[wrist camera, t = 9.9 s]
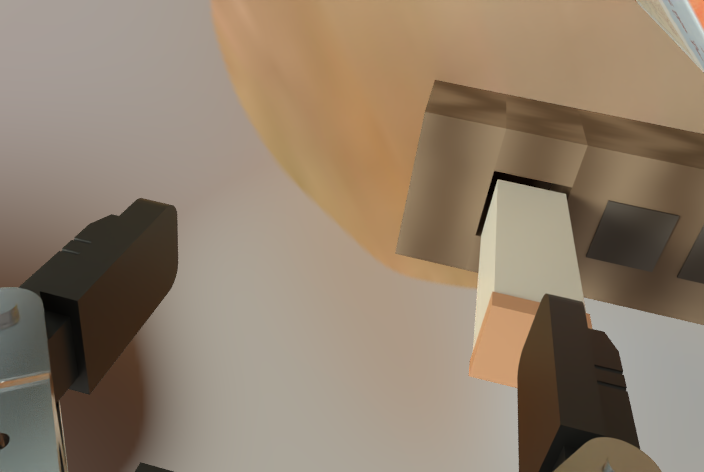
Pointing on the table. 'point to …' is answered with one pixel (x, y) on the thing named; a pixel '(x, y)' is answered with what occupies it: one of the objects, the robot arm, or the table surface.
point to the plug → (520, 274)
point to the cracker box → (680, 24)
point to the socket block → (573, 180)
